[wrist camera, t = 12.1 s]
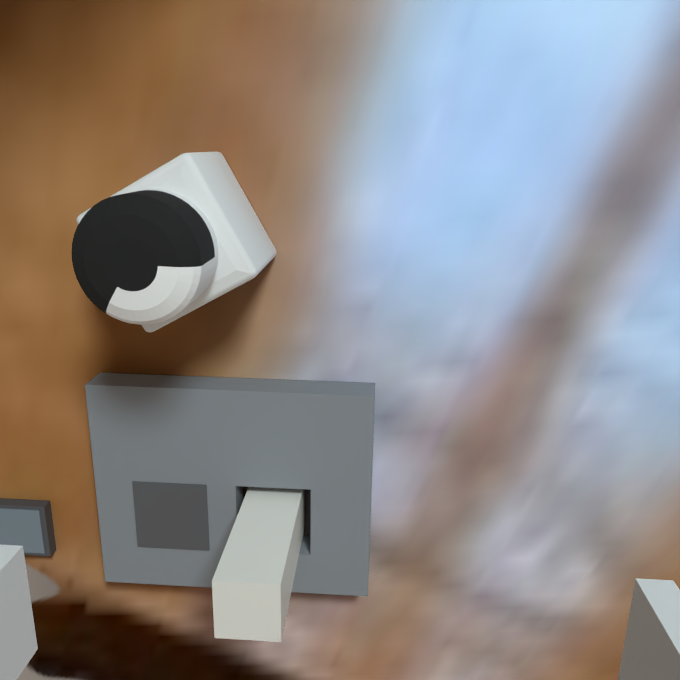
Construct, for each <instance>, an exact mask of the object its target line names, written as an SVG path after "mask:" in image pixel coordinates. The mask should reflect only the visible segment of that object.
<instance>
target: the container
mask: <svg viewBox="0 0 680 680" xmlns="http://www.w3.org/2000/svg"><path fill="white" fill-rule="evenodd" d="M77 224H78V226H77V229H76V231H75V234H74V238H73V243H72V262H73V267H74V271H75V274H76V277H77V280H78V282H79V284H80V286H81V288H82V289H83V291H84V292H85V294H86V295H87V297H88V298H89V299H90V300H91V301H92V302H93V303H94V304H95V305H96V306H97V307H98V308H99V309H101V310H102V311H103V312H105V313H106V314H108V315H110V316H111V317H113V318H115V319H118V320H120V321H123V322H127V323H131V324H139V325H142V327H143V328H144V330H145V331H146V332H154V331H156V330H158V329H160V328H162V327H163V326H165V325H167V324H169V323H171V322H173V321H175V320H177V319H178V318H180V317H182V316H184V315H186V314H188V313H190V312H192V311H193V310H195V309H197V308H199V307H201V306H203V305H205V304H206V303H208V302H210V301H212V300H214V299H216V298H218V297H220V296H221V295H223V294H225V293H227V292H229V291H231V290H233V289H235V288H236V287H238V286H240V285H242V284H244V283H246V282H248V281H250V280H251V279H253V278H255V277H256V276H257V275H258V274H259V273H260V272H261V271H262V269H263V268H264V267H265V266H266V265H267V264H268V263H269V262H270V261H271V260H272V259H273V258H274V257H275V256H276V253H277V252H276V249H275V247H274V246H273V244H272V242H271V240H270V239H269V237H268V235H267V233H266V231H265V230H264V228H263V226H262V224H261V223H260V221H259V219H258V217H257V215H256V214H255V212H254V210H253V208H252V206H251V205H250V203H249V201H248V199H247V198H246V196H245V194H244V192H243V190H242V189H241V187H240V185H239V183H238V182H237V180H236V178H235V176H234V174H233V173H232V171H231V169H230V167H229V165H228V164H227V162H226V160H225V158H224V157H223V155H222V154H221V153H220V152H197V153H184V154H181V155H180V156H178V157H176V158H175V159H173V160H171V161H169V162H168V163H166V164H164V165H163V166H161V167H159V168H158V169H156V170H154V171H153V172H151V173H149V174H148V175H146V176H144V177H142V178H141V179H139V180H137V181H136V182H134V183H132V184H131V185H129V186H127V187H126V188H124V189H122V190H120V191H119V192H117V193H115V194H114V195H112V196H110V197H109V198H107V199H104V200H102V201H100V202H99V203H97V204H96V205H94V206H93V207H92V208H90V209H88V210H87V211H85V212H83V213H82V214H80V215H79V216H78V217H77Z"/></svg>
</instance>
